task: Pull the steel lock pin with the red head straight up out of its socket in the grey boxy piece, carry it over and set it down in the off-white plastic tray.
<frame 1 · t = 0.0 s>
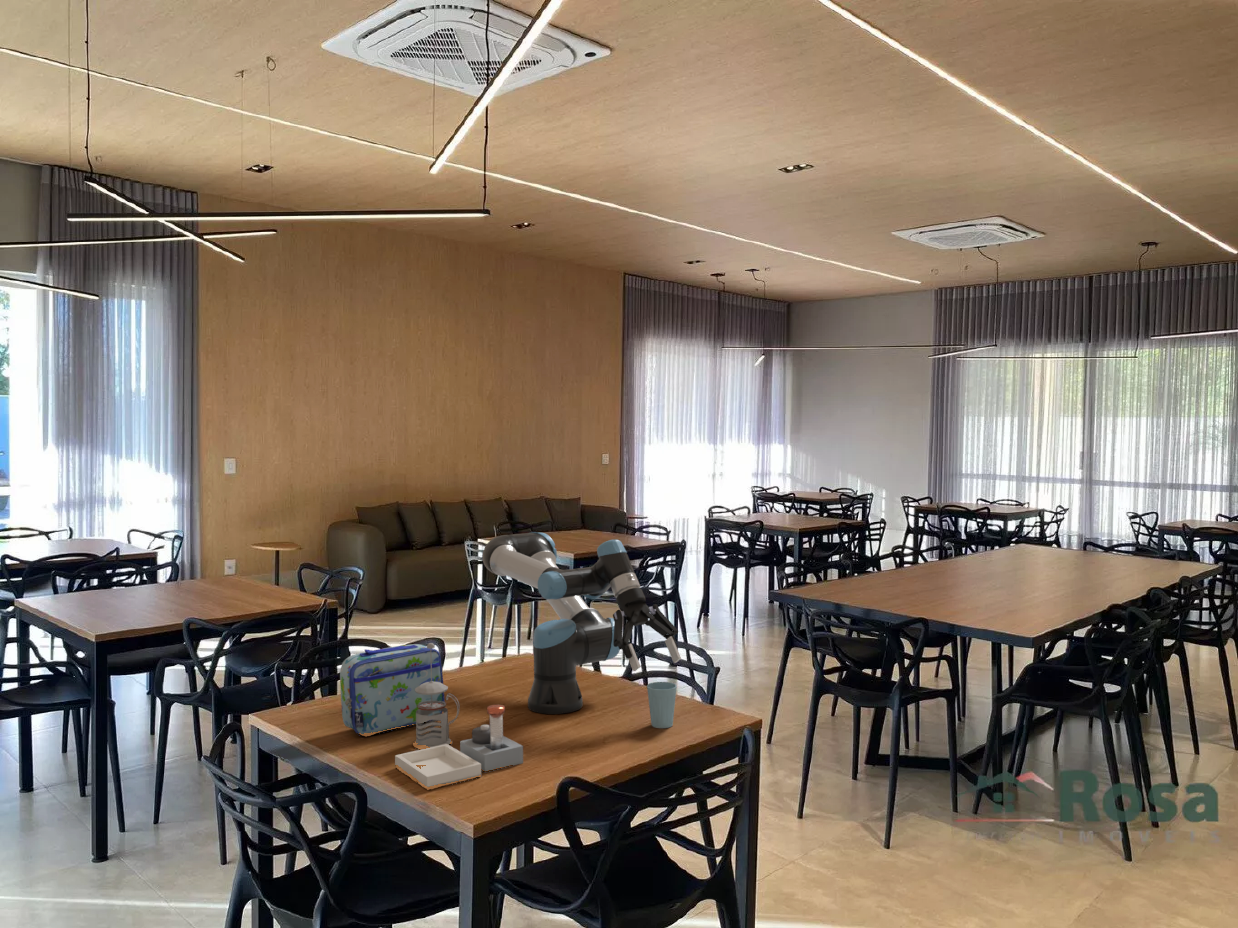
hand: (657, 665, 251), 15 cm above the table, tool tilted 35°, fingers open, 13 cm apart
parts tray: (437, 772, 217), on the table
grey boxy piece: (491, 760, 224), on the table
lunch box: (393, 727, 250), on the table
french press: (436, 744, 237), on the table
lock pin: (496, 763, 222), resting in grey boxy piece
cup: (662, 725, 250), on the table
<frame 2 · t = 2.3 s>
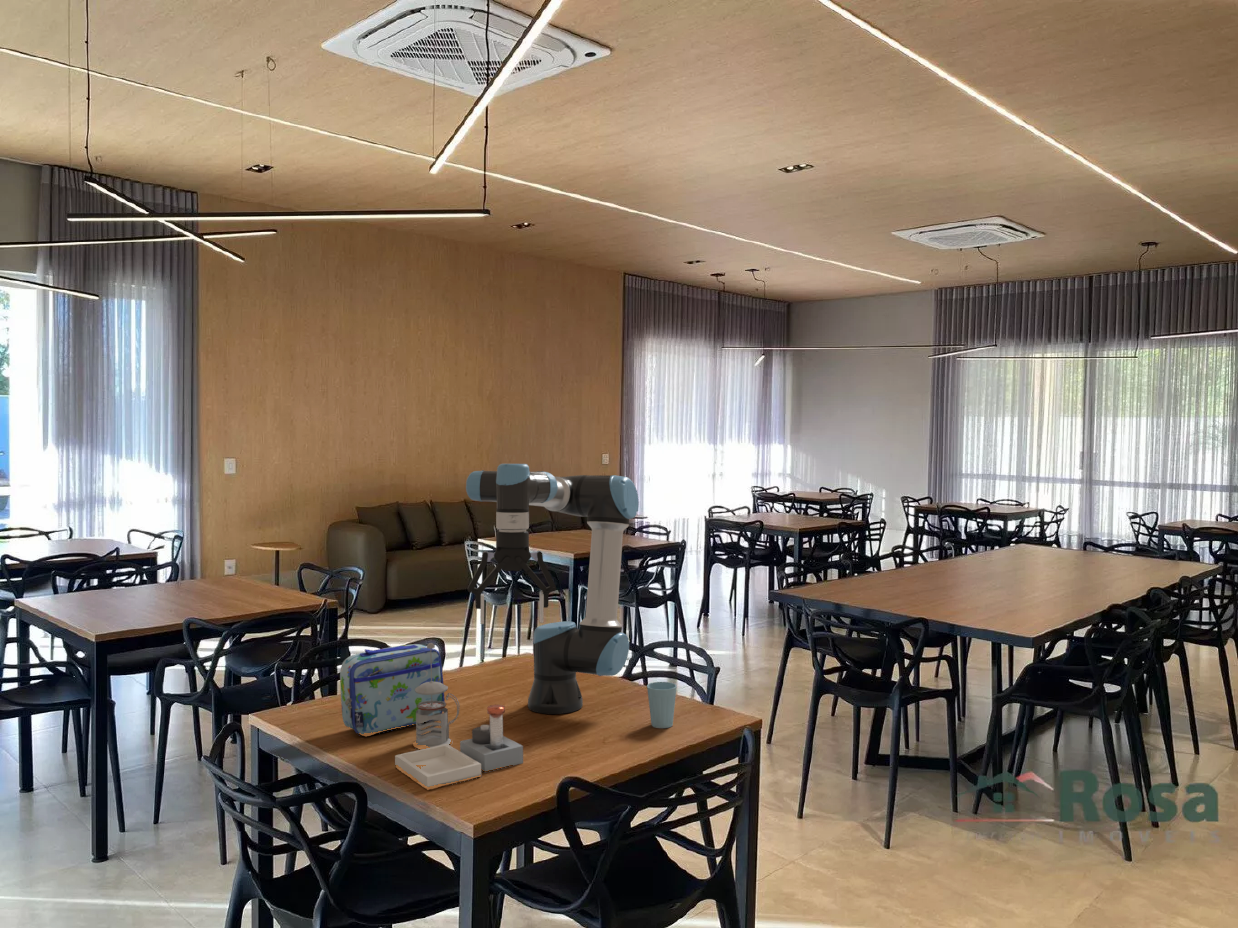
hand: (511, 622, 222), 33 cm above the table, tool pointing down, fingers open, 13 cm apart
nothing on the table moved.
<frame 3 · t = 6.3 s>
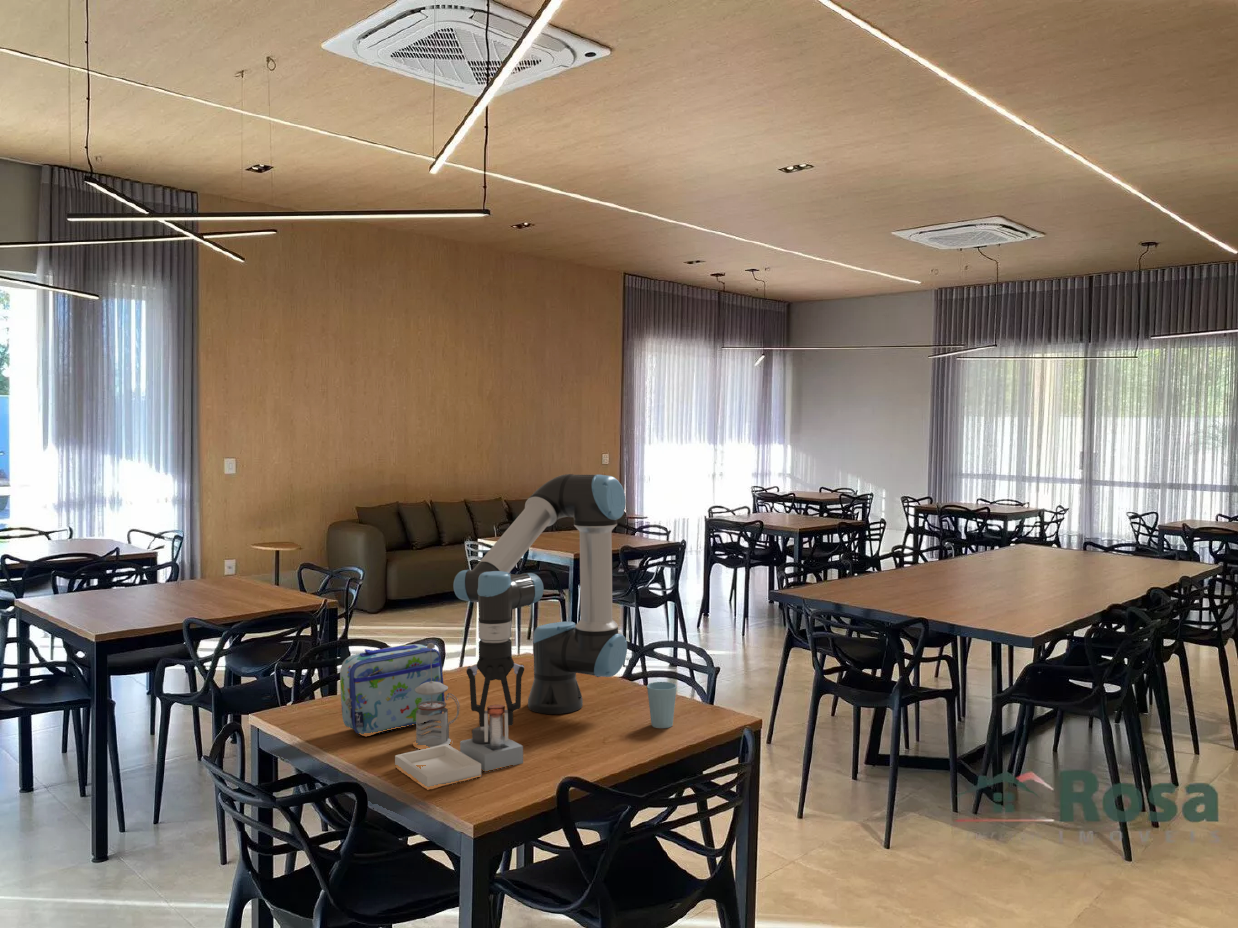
hand: (496, 739, 222), 6 cm above the table, tool pointing down, fingers closed on lock pin, 4 cm apart
lock pin: (496, 763, 222), resting in grey boxy piece, touching gripper
everything else where it was.
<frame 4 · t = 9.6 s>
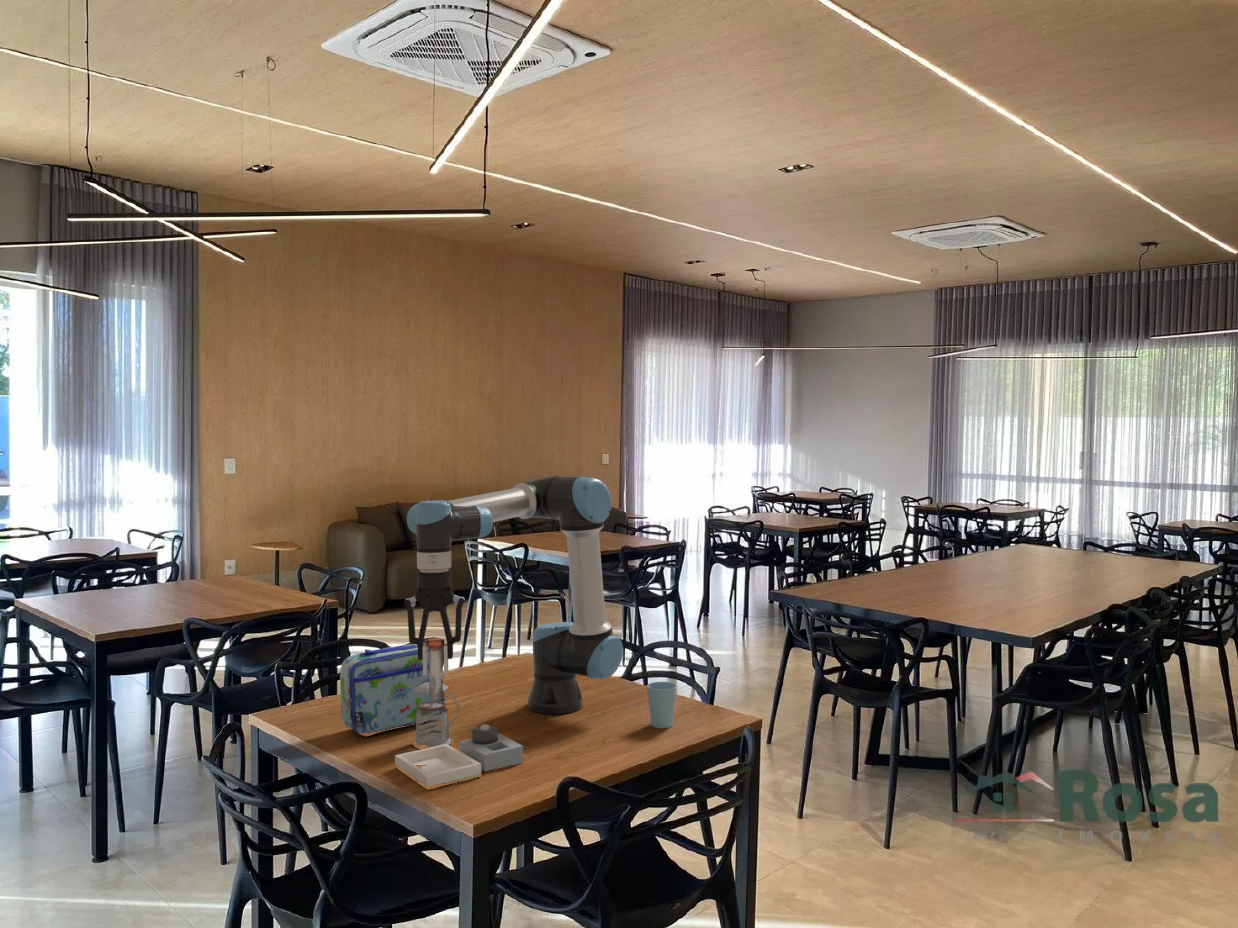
hand: (435, 673, 216), 23 cm above the table, tool pointing down, fingers closed on lock pin, 4 cm apart
lock pin: (436, 698, 216), point 17 cm above the table, touching gripper
everything else where it was.
when the fingers open (8 cm above the table, at t = 12.8 s): lock pin drops 1 cm, resting on parts tray.
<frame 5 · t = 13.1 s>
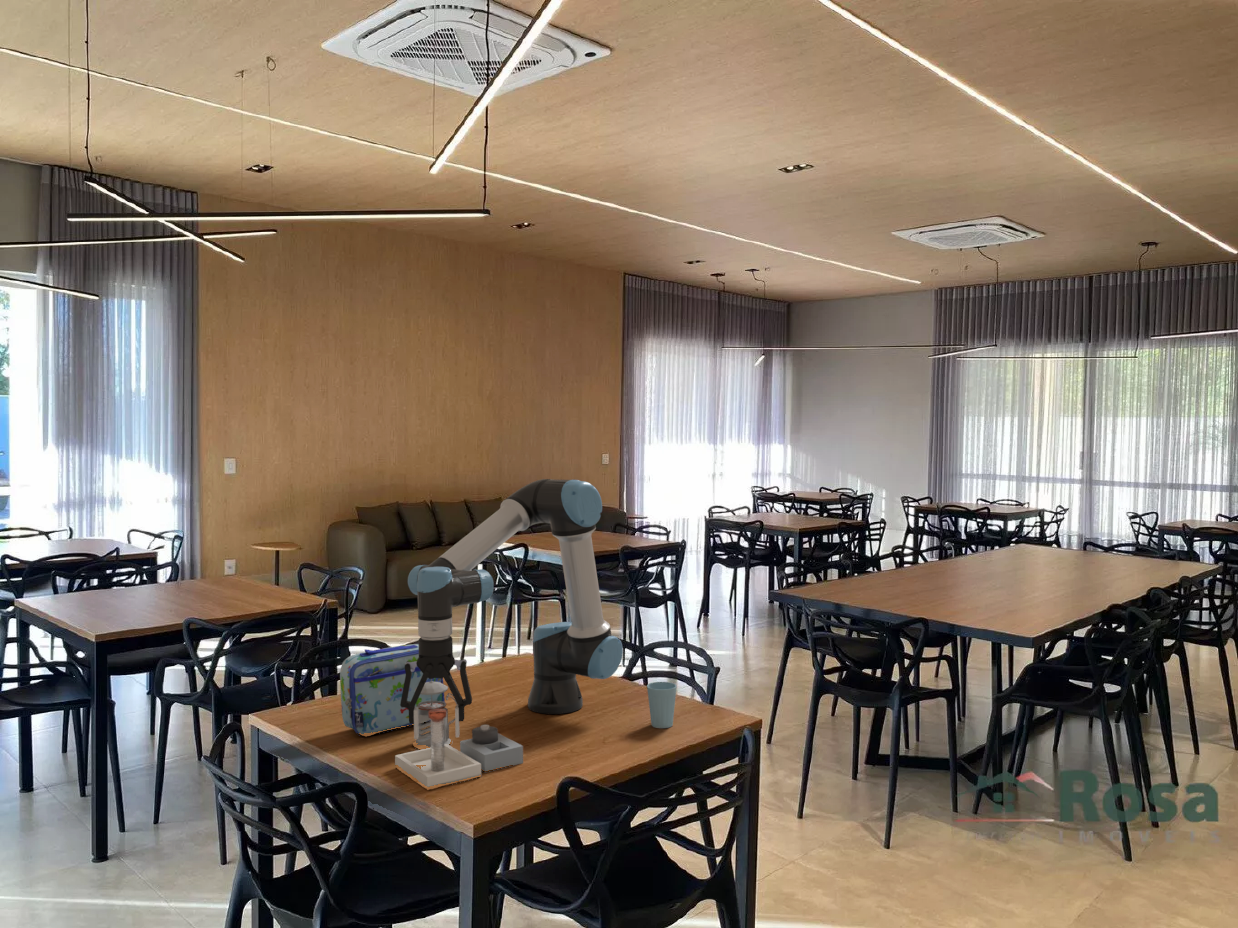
hand: (437, 736, 217), 8 cm above the table, tool pointing down, fingers open, 8 cm apart
lock pin: (437, 769, 217), point 1 cm above the table, touching parts tray
everything else where it was.
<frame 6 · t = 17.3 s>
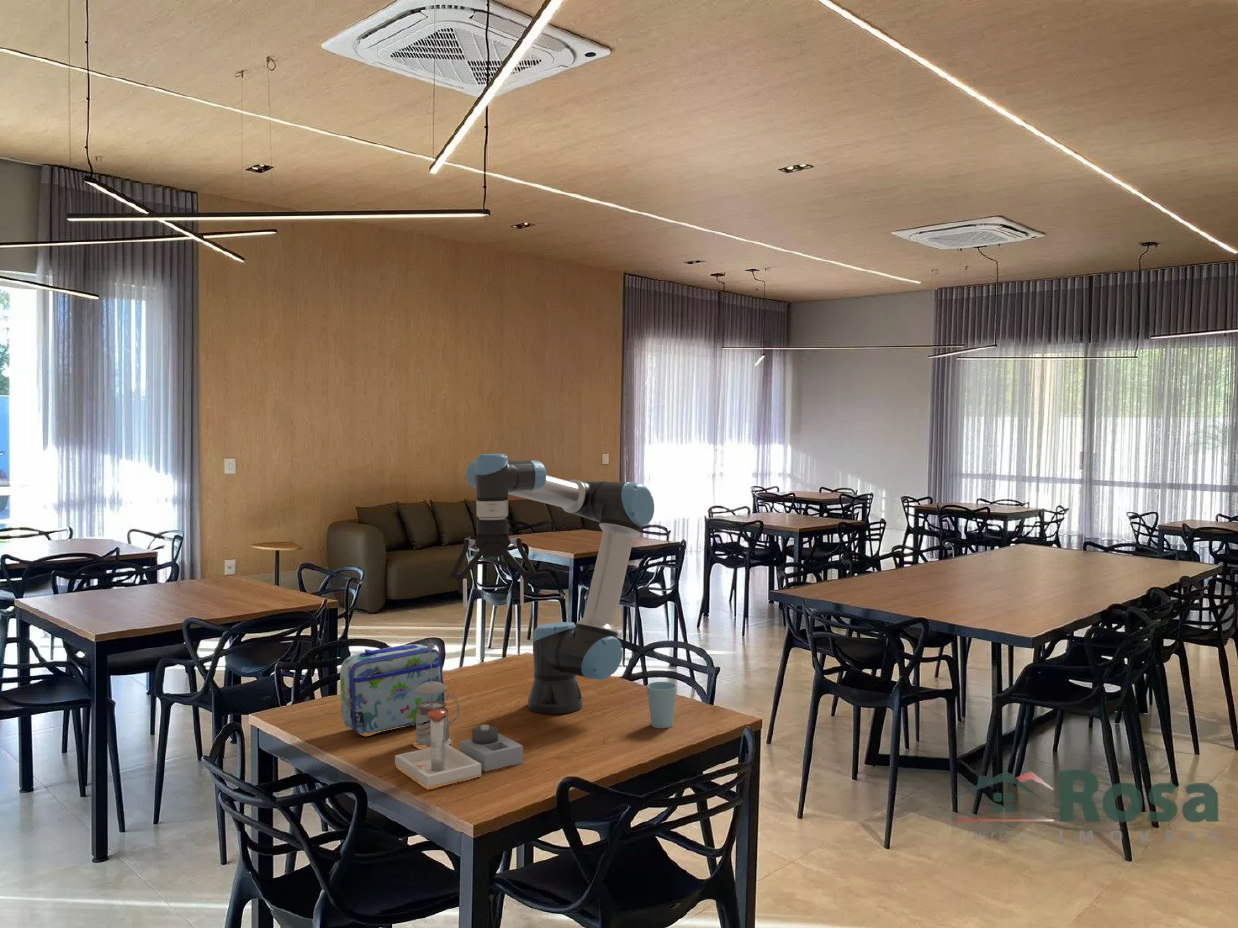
hand: (493, 606, 232), 35 cm above the table, tool pointing down, fingers open, 13 cm apart
nothing on the table moved.
at the end: lock pin inside the target area on the parts tray (0.0 cm from its centre), point 0.8 cm above the parts tray's base; the gripper is holding nothing; lock pin moved 13.8 cm from its start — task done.
